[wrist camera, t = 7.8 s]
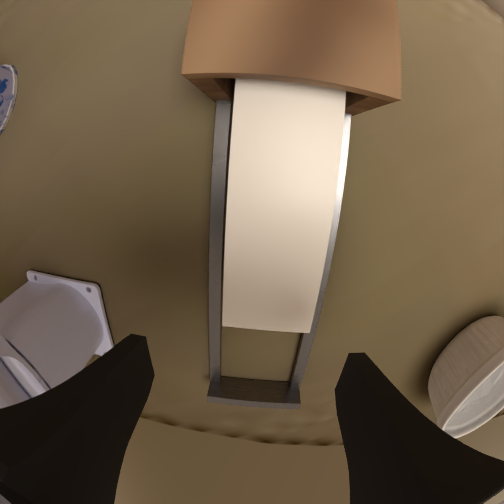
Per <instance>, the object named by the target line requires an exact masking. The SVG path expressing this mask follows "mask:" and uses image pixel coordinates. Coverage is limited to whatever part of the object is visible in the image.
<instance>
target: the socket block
mask: <svg viewBox="0 0 504 504" xmlns="http://www.w3.org/2000/svg"><path fill="white" fill-rule="evenodd" d="M181 74H182V75H183V76H184V77H185V78H187V79H188V80H189V81H191V82H192V83H193V84H194V85H196V86H197V87H198V88H199V89H200V90H202V91H203V92H204V93H205V94H207V95H208V96H209V97H210V98H211V99H213V100H214V101H215V102H217V100H230V101H232V102H233V95H234V84H235V78H242V79H262V80H275V81H285V82H294V83H302V84H309V85H316V86H322V87H328V88H333V89H339V90H344V91H346V100H345V113H347V114H351V116H353V115H356V114H359V113H362V112H365V111H368V110H371V109H374V108H377V107H380V106H383V105H386V104H390V103H393V102H396V101H399V100H401V44H400V30H399V19H398V10H397V3H396V0H193V1H192V6H191V11H190V16H189V22H188V28H187V34H186V41H185V48H184V55H183V62H182V70H181Z"/></svg>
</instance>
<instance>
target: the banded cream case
mask: <svg viewBox="0 0 504 504" xmlns="http://www.w3.org/2000/svg"><path fill="white" fill-rule="evenodd" d="M235 80H236V82H235V94H234V105H233V118H232V131H231V144H230V159H229V175H228V191H227V210H226V230H225V253H224V281H223V317H222V326H228V327H237V328H247V329H258V330H270V331H284V332H299V333H310V329H311V325H312V321H313V317H314V312H315V308H316V303H317V299H318V294H319V290H320V285H321V280H322V275H323V270H324V265H325V259H326V254H327V248H328V243H329V237H330V231H331V225H332V219H333V212H334V205H335V198H336V191H337V184H338V176H339V167H340V158H341V149H342V139H343V127H344V115H345V100H346V91H344V90H339V89H333V88H328V87H322V86H316V85H309V84H302V83H294V82H285V81H275V80H262V79H242V78H235Z"/></svg>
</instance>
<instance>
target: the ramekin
mask: <svg viewBox="0 0 504 504" xmlns="http://www.w3.org/2000/svg"><path fill="white" fill-rule="evenodd" d="M428 392H429V397H430V400H431V404H432V407H433V410H434V413H435V416H436V419H437V426H438V427H439V428H440V429H442V430H443V431H445V432H446V433H447V434H449V435H451V436H452V437H454V438H458V437H461V436H463V435H465V434H468V433H470V432H472V431H473V430H475V429H477V428H478V427H480V426H481V425H483V424H484V423H486V422H487V421H488V420H490V419H491V418H492V417H494V416H495V415H496V414H497V413H498V412H500V411H501V410H502V409H503V408H504V318H503V317H500V316H489V317H484V318H481V319H479V320H477V321H475V322H473V323H471V324H470V325H468V326H467V327H466V328H465V329H463V330H462V331H461V332H460V333H459V334H458V335H456V336H455V337H454V338H453V339H452V340H451V342H450V343H449V344H448V345H447V346H446V347H445V349H444V350H443V351H442V352H441V354H440V355H439V357H438V358H437V360H436V362H435V364H434V365H433V367H432V370H431V373H430V377H429V381H428Z"/></svg>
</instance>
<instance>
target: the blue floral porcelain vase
mask: <svg viewBox="0 0 504 504" xmlns="http://www.w3.org/2000/svg"><path fill="white" fill-rule="evenodd" d="M17 86H18V77H17V71H16V69H15V67H14V66H12V65H9V64H5V65H0V134H1V133H2V131H3V130H4V129H5V127H6V125H7V123H8V121H9V119H10V116H11V113H12V110H13V107H14V104H15V99H16V95H17Z"/></svg>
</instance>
